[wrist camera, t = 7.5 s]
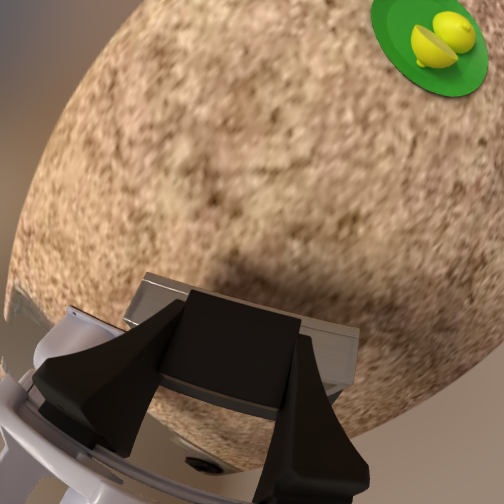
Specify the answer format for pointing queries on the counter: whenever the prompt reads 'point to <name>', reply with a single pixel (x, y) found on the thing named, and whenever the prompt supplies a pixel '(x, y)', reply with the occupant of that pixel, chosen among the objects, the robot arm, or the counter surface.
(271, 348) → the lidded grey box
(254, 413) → the dark grey panel
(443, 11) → the green plate with lemons
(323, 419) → the robot arm
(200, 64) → the counter surface
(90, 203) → the counter surface
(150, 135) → the counter surface
